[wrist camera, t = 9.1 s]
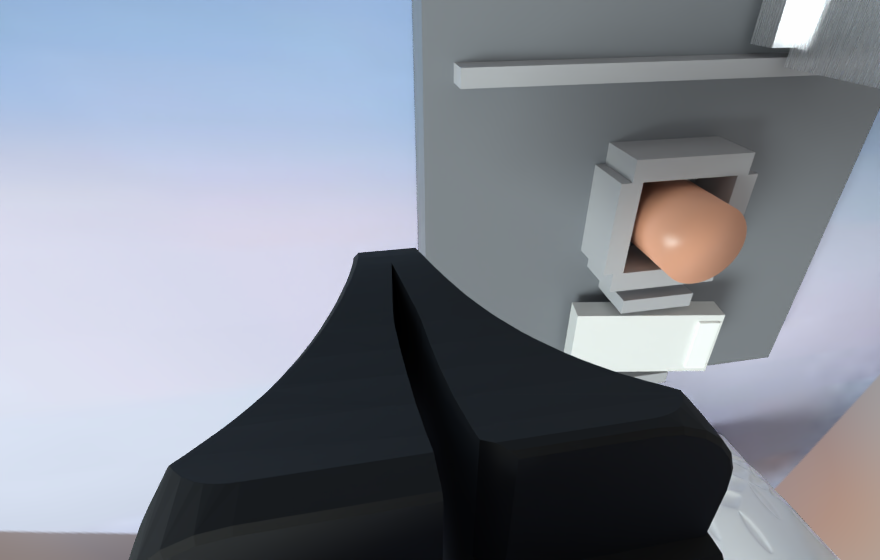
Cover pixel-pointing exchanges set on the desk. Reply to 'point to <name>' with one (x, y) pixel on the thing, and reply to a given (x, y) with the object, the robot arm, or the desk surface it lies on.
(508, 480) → the robot arm
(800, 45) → the grey boxy piece
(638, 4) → the panel
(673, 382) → the desk surface
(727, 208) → the push button
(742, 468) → the white cup
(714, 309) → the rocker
